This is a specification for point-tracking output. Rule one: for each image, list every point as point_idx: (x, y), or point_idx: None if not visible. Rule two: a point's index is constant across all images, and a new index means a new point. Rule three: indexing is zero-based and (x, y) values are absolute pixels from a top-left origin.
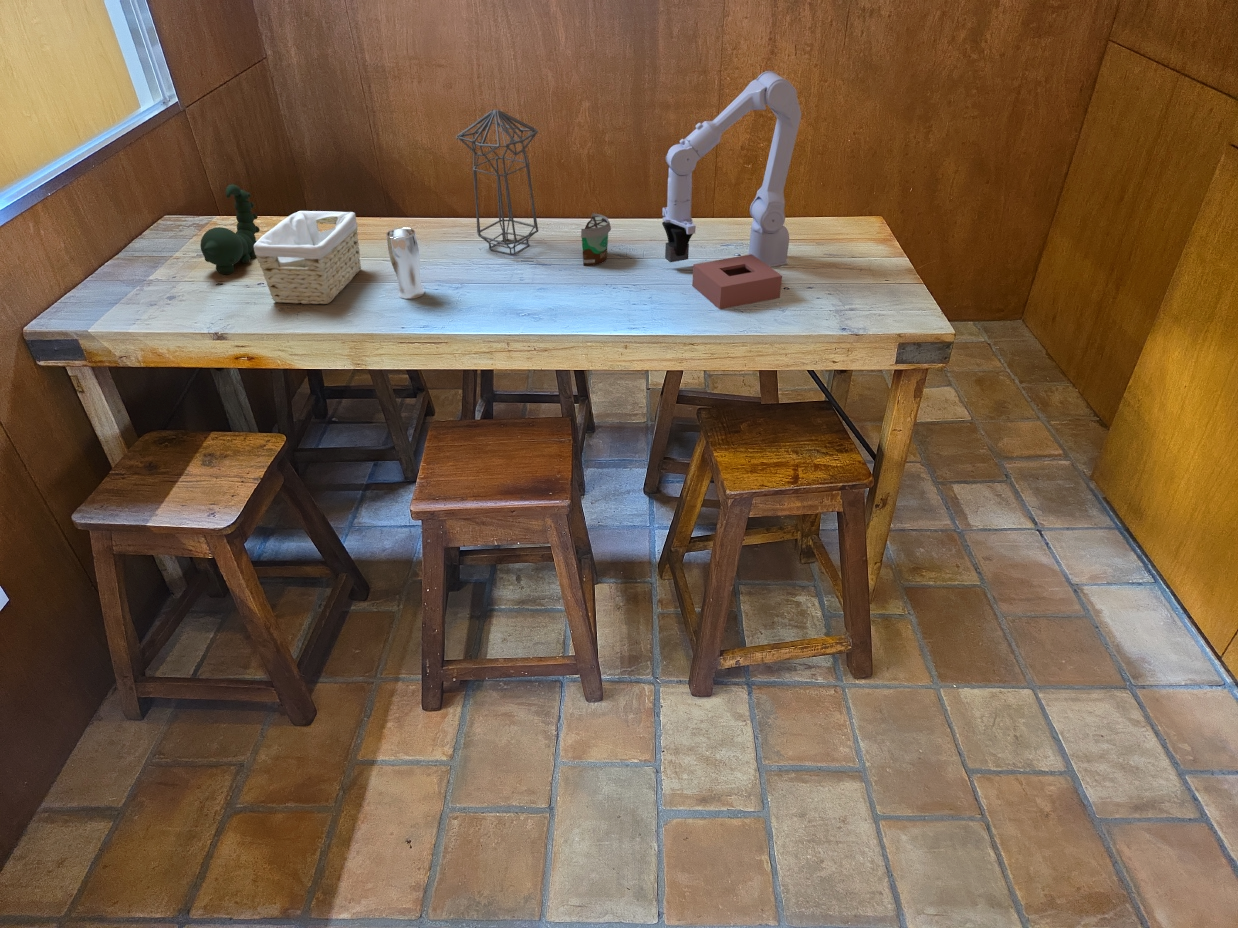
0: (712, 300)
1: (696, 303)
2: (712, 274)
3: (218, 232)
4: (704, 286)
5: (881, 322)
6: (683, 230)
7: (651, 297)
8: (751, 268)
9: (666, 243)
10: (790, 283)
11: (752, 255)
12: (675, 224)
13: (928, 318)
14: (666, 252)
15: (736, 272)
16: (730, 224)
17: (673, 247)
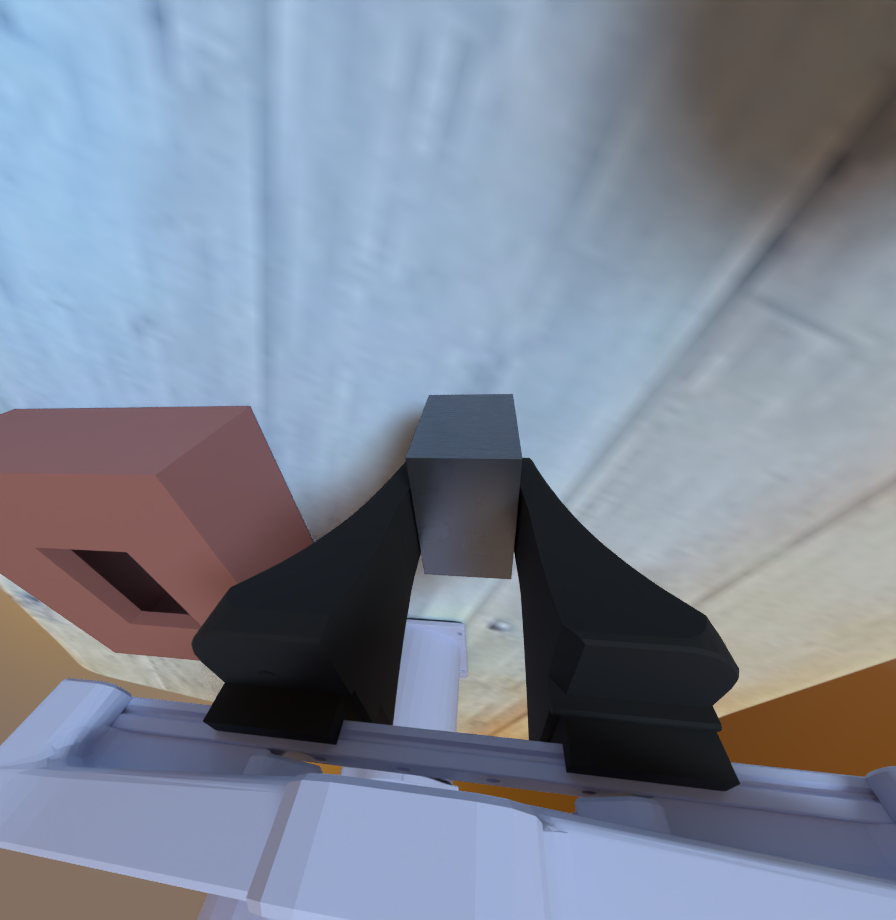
0: (55, 414)
1: (41, 341)
2: (20, 500)
3: None
4: (95, 431)
5: (96, 644)
6: (226, 695)
7: (12, 32)
8: (158, 626)
9: (502, 460)
10: None
11: None
12: (201, 779)
13: (137, 680)
14: (493, 417)
15: None
16: (728, 694)
17: (410, 476)
